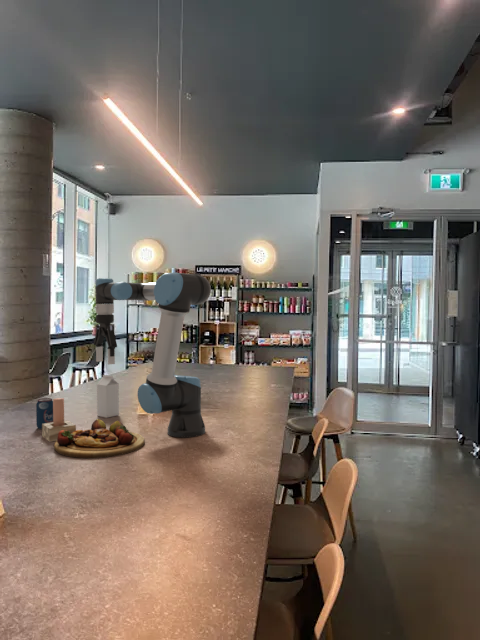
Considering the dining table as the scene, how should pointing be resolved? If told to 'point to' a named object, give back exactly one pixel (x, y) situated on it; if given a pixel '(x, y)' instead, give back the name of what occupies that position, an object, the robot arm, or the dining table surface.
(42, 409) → the soda can
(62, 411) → the pink upright block
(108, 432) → the wooden plate with food
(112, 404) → the milk carton
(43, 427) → the socket block
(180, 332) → the robot arm
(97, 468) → the dining table surface
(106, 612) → the dining table surface
